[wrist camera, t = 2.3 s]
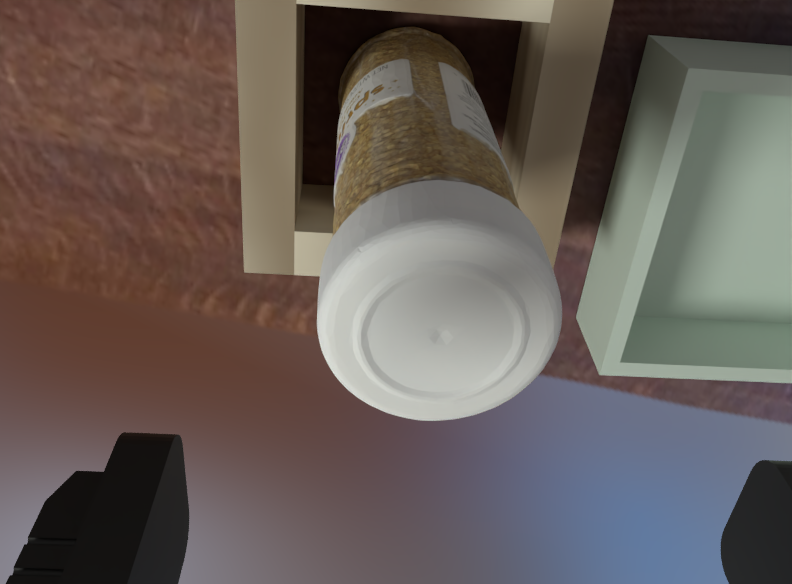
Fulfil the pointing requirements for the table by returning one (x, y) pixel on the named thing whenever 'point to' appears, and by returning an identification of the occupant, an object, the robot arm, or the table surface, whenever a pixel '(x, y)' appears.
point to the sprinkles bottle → (429, 242)
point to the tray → (698, 219)
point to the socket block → (522, 141)
